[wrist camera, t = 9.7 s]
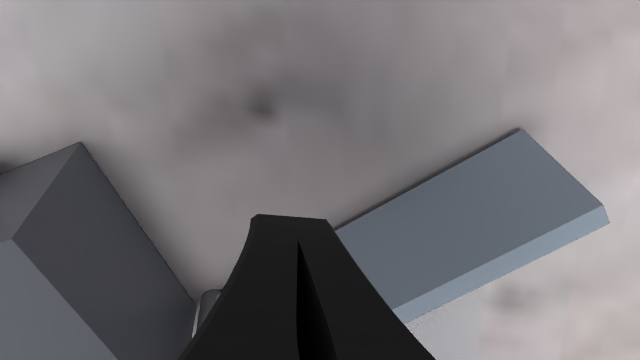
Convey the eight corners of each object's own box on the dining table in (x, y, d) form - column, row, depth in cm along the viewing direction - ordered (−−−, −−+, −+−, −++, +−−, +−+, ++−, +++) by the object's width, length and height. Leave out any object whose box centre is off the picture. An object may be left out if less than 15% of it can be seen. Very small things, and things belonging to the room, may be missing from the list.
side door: (222, 324, 24) (210, 445, 19) (195, 297, 23) (175, 417, 18) (533, 159, 21) (621, 248, 16) (517, 122, 20) (605, 203, 15)
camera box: (196, 306, 23) (174, 443, 18) (60, 355, 24) (-3, 502, 18) (67, 123, 18) (-21, 229, 13) (-98, 191, 19) (-252, 321, 13)
